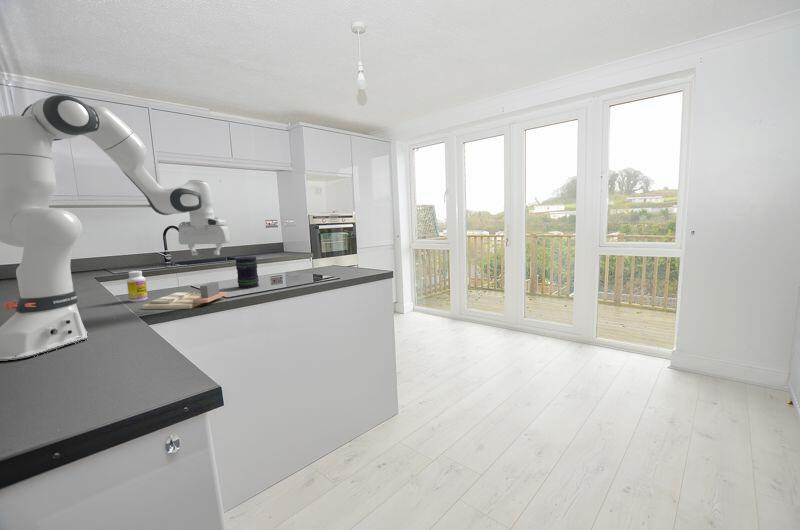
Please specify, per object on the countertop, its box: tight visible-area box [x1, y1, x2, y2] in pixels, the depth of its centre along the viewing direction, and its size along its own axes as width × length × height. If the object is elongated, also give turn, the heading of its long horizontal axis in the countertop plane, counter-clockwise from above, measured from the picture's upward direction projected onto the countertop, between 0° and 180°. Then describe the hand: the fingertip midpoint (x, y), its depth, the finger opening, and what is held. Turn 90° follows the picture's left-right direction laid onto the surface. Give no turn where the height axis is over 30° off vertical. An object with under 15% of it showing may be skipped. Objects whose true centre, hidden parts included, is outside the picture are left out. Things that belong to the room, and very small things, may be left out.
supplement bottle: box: [126, 270, 148, 303], centre depth 154 cm, size 7×7×13 cm
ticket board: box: [141, 291, 204, 310], centre depth 148 cm, size 20×20×3 cm
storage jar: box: [235, 256, 260, 290], centre depth 177 cm, size 10×10×15 cm
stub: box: [193, 281, 228, 304], centre depth 147 cm, size 14×6×6 cm, turn 177°
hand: (206, 255), depth 144 cm, fingers open, 8 cm apart
